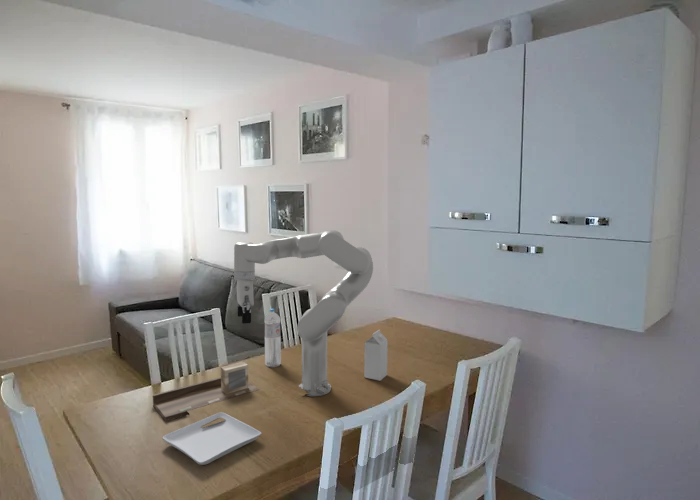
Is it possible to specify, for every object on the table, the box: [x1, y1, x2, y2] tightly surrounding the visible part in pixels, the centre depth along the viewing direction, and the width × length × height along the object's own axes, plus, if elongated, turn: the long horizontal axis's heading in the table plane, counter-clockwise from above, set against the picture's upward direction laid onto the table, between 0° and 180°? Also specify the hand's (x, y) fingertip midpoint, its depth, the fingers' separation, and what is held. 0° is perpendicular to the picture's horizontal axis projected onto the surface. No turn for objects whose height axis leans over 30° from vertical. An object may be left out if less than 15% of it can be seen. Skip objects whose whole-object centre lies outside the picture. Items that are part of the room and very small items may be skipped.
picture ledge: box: [152, 376, 260, 422], centre depth 162 cm, size 14×34×4 cm, turn 129°
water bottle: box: [263, 308, 282, 368], centre depth 195 cm, size 7×7×25 cm
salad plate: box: [162, 411, 262, 466], centre depth 134 cm, size 21×21×3 cm
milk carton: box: [363, 329, 389, 381], centre depth 183 cm, size 7×7×19 cm
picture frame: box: [220, 361, 249, 394], centre depth 167 cm, size 4×9×9 cm, turn 129°
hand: (244, 319), depth 170 cm, fingers open, 9 cm apart
